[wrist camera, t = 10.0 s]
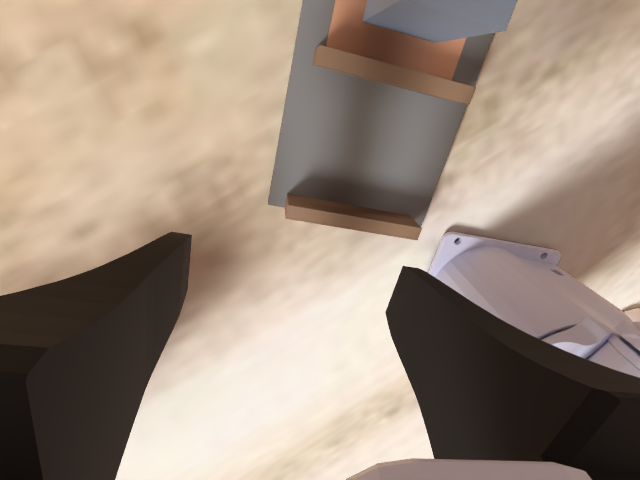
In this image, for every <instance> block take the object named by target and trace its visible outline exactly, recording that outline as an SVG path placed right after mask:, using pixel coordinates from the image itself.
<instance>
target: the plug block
mask: <svg viewBox="0 0 640 480" xmlns="http://www.w3.org/2000/svg"><path fill="white" fill-rule="evenodd" d="M516 3H517V0H367V3H366V8H365V12H364V16H363V21H362V22H365V23H368V24H372V25H375V26H378V27H382V28H385V29H389V30H392V31H396V32H399V33H403V34H406V35H410V36H413V37H417V38H420V39H424V40H427V41H431V42H434V43H438V42H444V41H450V40H455V39H461V38H467V37H472V36H478V35H484V34H489V33H495V32H501V31H506V29H507V26H508V23H509V21H510V18H511V16H512V13H513V10H514V8H515V5H516Z"/></svg>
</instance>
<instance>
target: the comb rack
mask: <svg viewBox="0 0 640 480" xmlns="http://www.w3.org/2000/svg"><path fill="white" fill-rule="evenodd" d="M366 3H367V0H303V3H302V8H301V14H300V20H299V26H298V32H297V37H296V43H295V49H294V55H293V60H292V66H291V72H290V78H289V84H288V89H287V95H286V101H285V107H284V113H283V118H282V124H281V130H280V136H279V142H278V147H277V153H276V159H275V165H274V170H273V176H272V182H271V188H270V194H269V199H268V205H274V206H279V207H285V216H286V219H292V220H298V221H304V222H310V223H316V224H322V225H328V226H334V227H340V228H346V229H352V230H358V231H364V232H370V233H376V234H382V235H388V236H395V237H401V238H407V239H413V240H418V237H419V234H420V232H421V229H422V228H421V225H422V222H423V220H424V217H425V214H426V212H427V209H428V207H429V204H430V201H431V199H432V196H433V193H434V191H435V188H436V185H437V183H438V180H439V178H440V175H441V172H442V170H443V167H444V164H445V162H446V159H447V157H448V154H449V151H450V149H451V146H452V143H453V141H454V138H455V135H456V133H457V130H458V128H459V125H460V122H461V120H462V117H463V114H464V112H465V109H466V106H467V104H470V101H471V98H472V96H473V93H474V90H475V88H476V87H474V85H475V83H476V80H477V78H478V75H479V72H480V70H481V67H482V64H483V62H484V59H485V56H486V54H487V51H488V49H489V46H490V43H491V41H492V38H493V35H494V33H489V34H484V35H478V36H472V37H467V38H461V39H455V40H450V41H444V42H438V43H434V42H431V41H427V40H424V39H420V38H417V37H413V36H410V35H406V34H403V33H399V32H396V31H392V30H389V29H385V28H382V27H378V26H375V25H372V24H368V23H365V22H362V21H363V16H364V12H365V8H366Z"/></svg>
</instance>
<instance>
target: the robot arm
mask: <svg viewBox="0 0 640 480" xmlns="http://www.w3.org/2000/svg"><path fill="white" fill-rule="evenodd" d="M191 238H192V235H189V234H182V233H175V232H170V233H168V234H166V235H164V236H162V237H160V238H158V239H156V240H154V241H152V242H150V243H149V244H147V245H145V246H143V247H141V248H139V249H137V250H135V251H133V252H131V253H129V254H127V255H125V256H122V257H120V258H118V259H116V260H113V261H111V262H109V263H107V264H105V265H102V266H100V267H97V268H95V269H92V270H90V271H87V272H84V273H81V274H79V275H76V276H73V277H70V278H67V279H64V280H60V281H57V282H54V283H50V284H46V285H42V286H39V287H35V288H31V289H27V290H24V291H20V292H16V293H12V294H7V295H2V296H0V480H115V478H116V475H117V472H118V469H119V465H120V462H121V459H122V456H123V453H124V450H125V447H126V444H127V441H128V438H129V435H130V432H131V429H132V426H133V423H134V420H135V417H136V415H137V412H138V409H139V406H140V403H141V400H142V397H143V395H144V392H145V389H146V387H147V384H148V382H149V379H150V377H151V375H152V372H153V370H154V368H155V366H156V364H157V362H158V360H159V358H160V356H161V353H162V351H163V349H164V347H165V345H166V343H167V341H168V339H169V337H170V334H171V332H172V330H173V328H174V326H175V324H176V322H177V319H178V317H179V315H180V312H181V309H182V306H183V302H184V299H185V296H186V292H187V289H188V276H189V263H190V251H191ZM457 238H459V240H458V241H457V242H454V241H455V239H457ZM542 254H543V255H542ZM541 255H542V256H541ZM561 256H562V255H561V253H560V252H559V251H557V250H554V249H549V248H543V247H537V246H532V245H526V244H520V243H514V242H509V241H503V240H497V239H492V238H486V237H480V236H474V235H469V234H463V233H457V232H447V233H445V234H444V235H443V237H442V240H441V242H440V244H439V247H438V249H437V252H436V254H435V256H434V259H433V261H432V264H431V266H430V269H429V271H428V273H427V272H425V271H423V270H421V269H419V268H413V267H406V266H403V267H402V270H401V273H400V275H399V278H398V281H397V283H396V286H395V289H394V291H393V294H392V297H391V299H390V302H389V305H388V307H387V310H386V316H387V321H388V325H389V329H390V333H391V337H392V339H393V342H394V344H395V347H396V349H397V352H398V354H399V357H400V359H401V361H402V364H403V366H404V368H405V371H406V373H407V376H408V378H409V380H410V383H411V385H412V388H413V390H414V392H415V395H416V398H417V400H418V403H419V406H420V409H421V413H422V416H423V419H424V423H425V426H426V429H427V433H428V436H429V440H430V444H431V448H432V451H433V455H434V459H406V460H399V461H392V462H385V463H378V464H376V465H374V466H372V467H370V468H368V469H365V470H363V471H361V472H359V473H357V474H355V475H353V476H351V477H349V478H347V479H346V480H640V322H633V321H632V320H631V319H630V318H629V317H628V316H627V315H626V314H625V313H624V312H623V311H622V310H620V309H619V308H617V307H616V306H614V305H613V304H611V303H610V302H609V301H607V300H606V299H604V298H603V297H601V296H600V295H598V294H597V293H596V292H594V291H593V290H591V289H590V288H588V287H587V286H585V285H584V284H583V283H581V282H580V281H578V280H577V279H575V278H574V277H572V276H571V275H569V274H568V273H567V272H565V271H564V270H562V269H561V268H559V267H558V266H557V264H558V262H559V261H560V259H561Z"/></svg>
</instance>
